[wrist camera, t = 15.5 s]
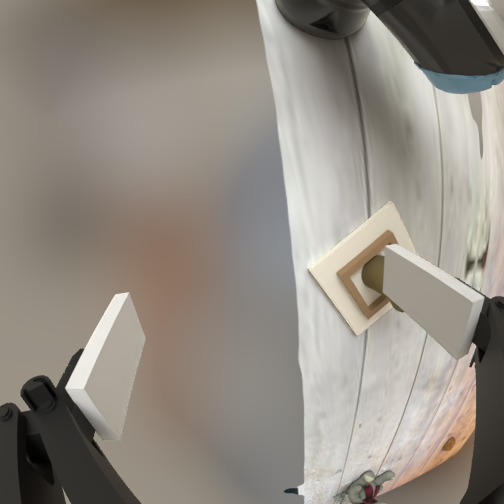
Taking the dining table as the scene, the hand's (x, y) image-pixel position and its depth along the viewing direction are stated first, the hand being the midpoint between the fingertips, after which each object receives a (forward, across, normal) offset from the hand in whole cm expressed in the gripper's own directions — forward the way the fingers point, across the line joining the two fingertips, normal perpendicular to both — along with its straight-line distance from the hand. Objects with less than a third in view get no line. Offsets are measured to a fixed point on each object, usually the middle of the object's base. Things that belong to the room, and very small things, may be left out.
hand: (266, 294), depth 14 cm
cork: (+28, +23, -15) cm, 39 cm away
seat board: (+29, +23, -16) cm, 40 cm away
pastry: (+29, +82, -120) cm, 149 cm away
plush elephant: (+29, +32, -116) cm, 124 cm away
